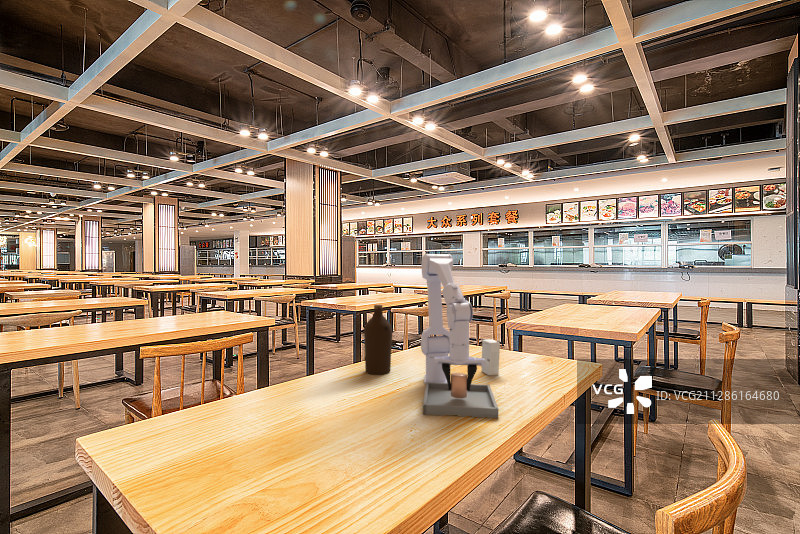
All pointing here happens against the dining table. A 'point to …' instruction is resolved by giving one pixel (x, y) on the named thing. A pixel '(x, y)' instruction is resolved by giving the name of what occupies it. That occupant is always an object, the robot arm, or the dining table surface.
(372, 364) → the olive oil
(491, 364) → the skincare box
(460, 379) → the pink rounded cylinder
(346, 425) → the dining table surface
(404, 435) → the dining table surface
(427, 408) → the tray
